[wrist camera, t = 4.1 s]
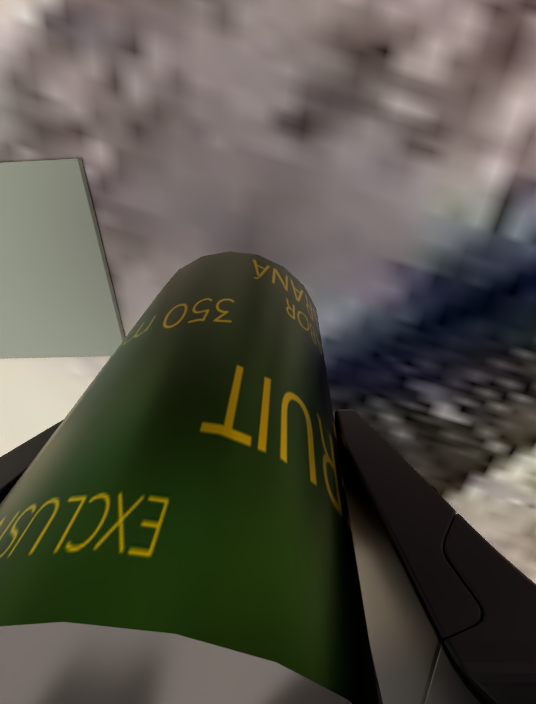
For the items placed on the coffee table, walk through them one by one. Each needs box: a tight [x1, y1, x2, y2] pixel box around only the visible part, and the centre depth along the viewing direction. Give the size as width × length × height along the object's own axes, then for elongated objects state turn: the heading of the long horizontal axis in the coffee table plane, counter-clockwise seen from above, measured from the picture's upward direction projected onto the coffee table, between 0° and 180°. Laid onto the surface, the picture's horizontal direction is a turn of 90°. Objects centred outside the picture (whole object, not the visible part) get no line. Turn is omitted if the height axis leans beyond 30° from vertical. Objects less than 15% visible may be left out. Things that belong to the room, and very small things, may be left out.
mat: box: [0, 158, 125, 359], centre depth 21 cm, size 10×10×1 cm
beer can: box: [0, 251, 379, 704], centre depth 9 cm, size 5×5×12 cm
